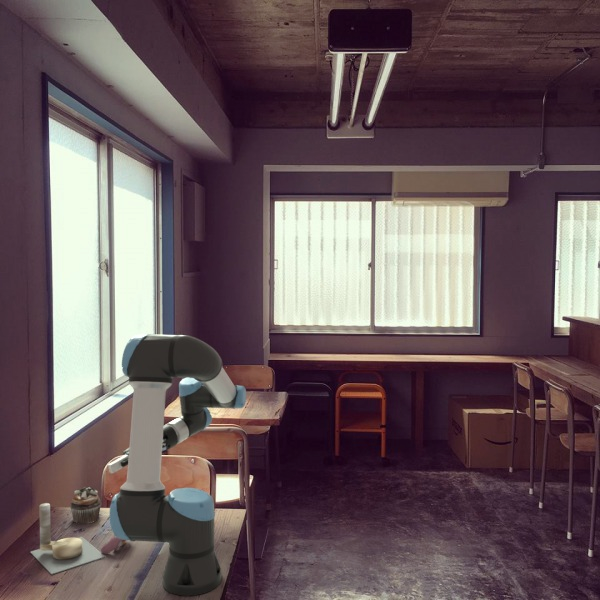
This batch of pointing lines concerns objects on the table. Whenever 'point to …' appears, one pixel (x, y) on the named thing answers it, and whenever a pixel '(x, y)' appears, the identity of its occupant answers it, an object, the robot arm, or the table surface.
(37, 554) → the base
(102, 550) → the video game controller
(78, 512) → the cupcake
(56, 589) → the table surface
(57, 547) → the cream oval with post
